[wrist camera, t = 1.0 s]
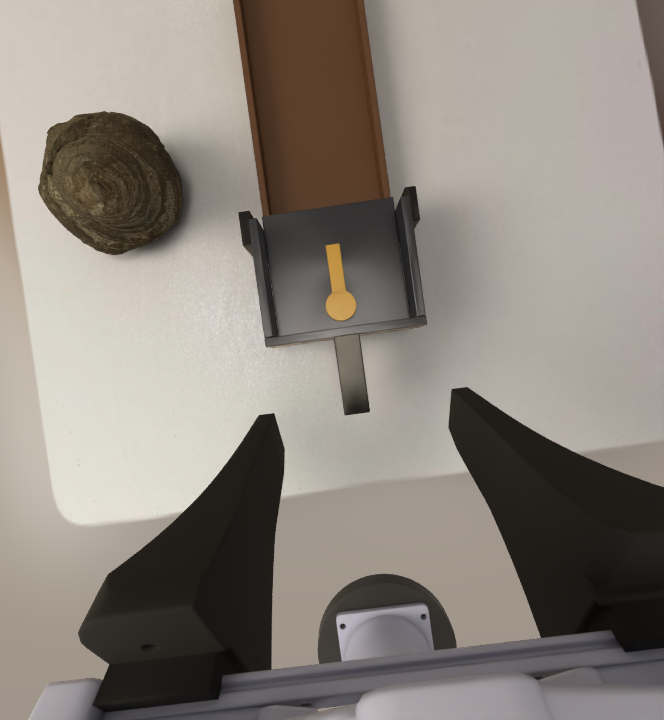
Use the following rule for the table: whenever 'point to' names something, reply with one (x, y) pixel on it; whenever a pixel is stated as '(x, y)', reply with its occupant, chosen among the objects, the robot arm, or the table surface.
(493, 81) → the table surface
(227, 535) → the robot arm
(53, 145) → the seashell
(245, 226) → the bracket
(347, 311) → the spoon
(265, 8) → the tray
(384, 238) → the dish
